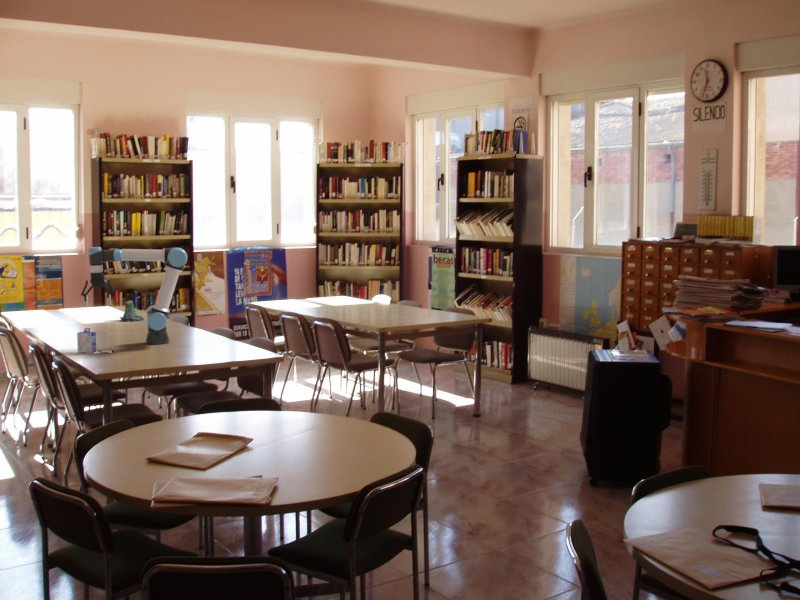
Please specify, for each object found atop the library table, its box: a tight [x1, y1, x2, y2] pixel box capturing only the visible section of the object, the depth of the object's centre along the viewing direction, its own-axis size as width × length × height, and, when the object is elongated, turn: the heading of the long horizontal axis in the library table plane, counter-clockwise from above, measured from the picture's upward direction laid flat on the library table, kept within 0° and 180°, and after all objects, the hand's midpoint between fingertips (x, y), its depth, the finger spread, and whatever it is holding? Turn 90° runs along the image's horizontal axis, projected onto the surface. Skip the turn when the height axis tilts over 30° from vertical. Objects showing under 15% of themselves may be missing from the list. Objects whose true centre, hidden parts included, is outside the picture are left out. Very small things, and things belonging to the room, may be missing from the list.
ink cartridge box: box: [76, 327, 97, 353], centre depth 521 cm, size 10×6×14 cm, turn 79°
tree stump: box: [119, 300, 146, 322], centre depth 667 cm, size 18×20×18 cm
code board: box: [77, 348, 108, 355], centre depth 523 cm, size 20×14×1 cm
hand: (99, 305), depth 533 cm, fingers open, 13 cm apart
